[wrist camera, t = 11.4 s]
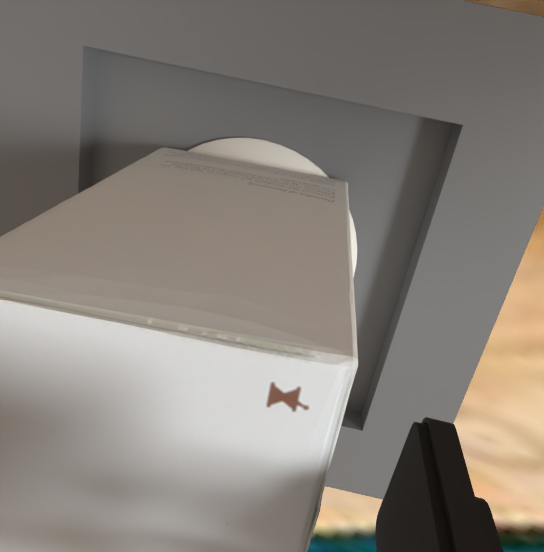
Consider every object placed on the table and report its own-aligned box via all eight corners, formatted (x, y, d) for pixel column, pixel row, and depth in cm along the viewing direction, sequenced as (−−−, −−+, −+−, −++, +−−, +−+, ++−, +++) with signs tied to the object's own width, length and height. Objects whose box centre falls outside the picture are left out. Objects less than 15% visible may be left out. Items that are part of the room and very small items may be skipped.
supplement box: (159, 141, 19) (-101, 263, 8) (352, 179, 19) (377, 364, 8) (144, 312, 22) (-59, 583, 11) (312, 347, 22) (287, 664, 11)
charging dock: (586, 34, 17) (616, 31, 16) (412, 475, 25) (418, 507, 24) (15, -82, 18) (-20, -97, 16) (21, 384, 26) (-3, 409, 24)
